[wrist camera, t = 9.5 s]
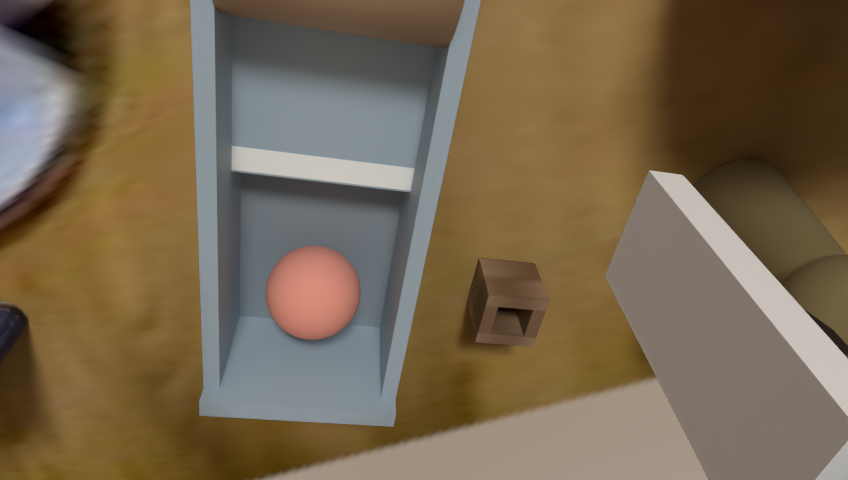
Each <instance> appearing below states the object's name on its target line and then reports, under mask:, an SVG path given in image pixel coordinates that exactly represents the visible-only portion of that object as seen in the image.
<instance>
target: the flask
mask: <svg viewBox="0 0 848 480" xmlns="http://www.w3.org/2000/svg"><path fill="white" fill-rule="evenodd" d="M28 315H29V314H26V313H24V312H23V311H22V309H20V308H19V307H17V306H16V305H13V304H10V303H8V302H0V363H1V362H2V361H3V359H4V358H5V357H6V356H7V354H8V352H9V351H10V349H11V347H12V346H13V345H14V343H15V342H16V341H17V339H18V338H19V336H20V335H21V333H22V331H23V330H24V329H26V328H27V324H28V323H27V322H28V319H27V317H28Z"/></svg>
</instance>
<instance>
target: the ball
mask: <svg viewBox="0 0 848 480" xmlns="http://www.w3.org/2000/svg"><path fill="white" fill-rule="evenodd" d="M265 296H266V303H267V307H268V310H269V312H270V314H271V316H272V318H273V319H274V321H275V322H276V323H277V325H278V326H279V327H281V328H282V329H283V330H284V331H286V332H287V333H289V334H291V335H293V336H295V337H298V338H302V339H308V340H317V339H323V338H327V337H330V336H332V335H334V334H336V333H338V332H339V331H341V330H342V329H343V328H345V327H346V326H347V325H348V324H349V322H350V321H351V320H352V318H353V317H354V315H355V313H356V311H357V309H358V306H359V302H360V296H361V288H360V282H359V278H358V275H357V273H356V271H355V269H354V267H353V266H352V265H351V263H350V262H349V261H348V260H347V259H346V258H345V257H344V256H343V255H341V254H340V253H338V252H337V251H335V250H332V249H330V248H326V247H322V246H305V247H301V248H298V249H295V250H293V251H291V252H289V253H288V254H286V255H285V256H283V257H282V258H281V259H280V260H279V261H278V262H277V263H276V264H275V266H274V267H273V269H272V271H271V273H270V275H269V277H268V280H267V284H266V295H265Z"/></svg>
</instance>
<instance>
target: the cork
mask: <svg viewBox="0 0 848 480" xmlns="http://www.w3.org/2000/svg"><path fill="white" fill-rule="evenodd" d="M693 187H694V188H695V189H696V190H697V191H698V192H699V193H700V195H701V196H702V197H703V198H704V199H705V200H706V201H707V202H708V203H709V205H710V206H711V207H712V208H713V209H714V210H715V211H716V212H717V213H718V215H719V216H720V217H721V218H722V219H723V220H724V221H725V222H726V224H727V225H728V226H729V227H730V228H731V229H732V230H733V231H734V232H735V234H736V235H737V236H738V237H739V238H740V239H741V240H742V241H743V242H744V244H745V245H746V246H747V247H748V248H749V249H750V250H751V251H752V252H753V254H754V255H755V256H756V257H757V258H758V259H759V260H760V261H761V262H762V264H763V265H764V266H765V267H766V268H767V269H768V270H769V271H770V272H771V274H772V275H773V276H774V277H775V278H776V279H777V280H778V281H779V283H780V284H781V285H782V286H783V287H784V288H785V289H786V290H787V291H788V293H789V294H790V295H791V296H792V297H793V298H794V299H795V300H796V301H797V303H798V304H799V305H800V306H801V307H802V308H803V309H805V310H807V311H808V312H809V313H811V314H812V315H813V316H815V317H816V318H818V319H819V320H820V321H822V322H823V323H824V324H826V325H827V326H829V327H830V328H831V329H833V330H834V331H835V332H836V333H837V334H838V335H839V337H840V338H841V339H842V340H843V341H844V342H845V343H846V344H847V345H848V255H847V254H846V253H845V252H844V251H843V249H842V248H841V247H840V246H839V244H838V243H837V242H836V241H835V239H834V238H833V237H832V236H831V235H830V233H829V232H828V231H827V230H826V228H825V227H824V226H823V225H822V224H821V222H820V221H819V220H818V219H817V217H816V216H815V215H814V214H813V213H812V211H811V210H810V209H809V208H808V206H807V205H806V204H805V203H804V201H803V200H802V199H801V198H800V197H799V195H798V194H797V193H796V192H795V190H794V189H793V188H792V187H791V186H790V184H789V183H788V182H787V181H786V179H785V178H784V177H783V176H782V175H781V173H780V172H779V171H778V170H777V169H776V168H774V167H773V166H772V165H770V164H769V163H767V162H765V161H760V160H756V159H742V160H734V161H731V162H728V163H725V164H723V165H720V166H717V167H716V168H714V169H713V170H711V171H710V172H708V173H707V174H705V175H704V176H702V177H701V178H700V179H699V180H698V181H697V182H696V183H695V184H694V185H693Z"/></svg>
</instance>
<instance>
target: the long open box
mask: <svg viewBox="0 0 848 480" xmlns="http://www.w3.org/2000/svg"><path fill="white" fill-rule="evenodd" d="M480 2H481V0H190V8H191V37H192V66H193V95H194V124H195V153H196V183H197V212H198V241H199V270H200V299H201V328H202V357H203V391H202V394H201V397H200V401H199V416H213V417H231V418H249V419H266V420H284V421H302V422H320V423H337V424H355V425H373V426H391V427H393V426H394V421H395V417H396V400H395V399H396V395H397V390H398V385H399V381H400V376H401V371H402V367H403V362H404V357H405V353H406V348H407V343H408V339H409V334H410V329H411V325H412V320H413V315H414V311H415V306H416V301H417V297H418V292H419V287H420V283H421V278H422V273H423V268H424V264H425V259H426V254H427V250H428V245H429V240H430V236H431V231H432V226H433V222H434V217H435V212H436V208H437V203H438V198H439V194H440V189H441V184H442V180H443V175H444V170H445V166H446V161H447V156H448V152H449V147H450V142H451V138H452V133H453V128H454V124H455V119H456V114H457V110H458V105H459V100H460V96H461V91H462V86H463V81H464V77H465V72H466V67H467V63H468V58H469V53H470V49H471V44H472V39H473V35H474V30H475V25H476V21H477V16H478V11H479V7H480ZM305 246H322V247H326V248H330V249H332V250H335V251H337V252H338V253H340V254H341V255H343V256H344V257H345V258H346V259H347V260H348V261H349V262H350V263H351V265H352V266H353V267H354V269H355V271H356V273H357V275H358V278H359V282H360V288H361V296H360V302H359V306H358V309H357V311H356V313H355V315H354V317H353V318H352V320H351V321H350V322H349V324H348V325H347V326H346V327H345V328H343V329H342V330H341V331H339V332H338V333H336V334H334V335H332V336H330V337H327V338H323V339H317V340H308V339H302V338H298V337H295V336H293V335H291V334H289V333H287V332H286V331H284V330H283V329H282V328H281V327H279V326H278V325H277V323H276V322H275V321H274V319H273V318H272V316H271V314H270V312H269V310H268V307H267V303H266V296H265V295H266V284H267V280H268V277H269V275H270V273H271V271H272V269H273V267H274V266H275V264H276V263H277V262H278V261H279V260H280V259H281V258H282V257H283V256H285V255H286V254H288V253H289V252H291V251H293V250H295V249H298V248H301V247H305Z"/></svg>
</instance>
